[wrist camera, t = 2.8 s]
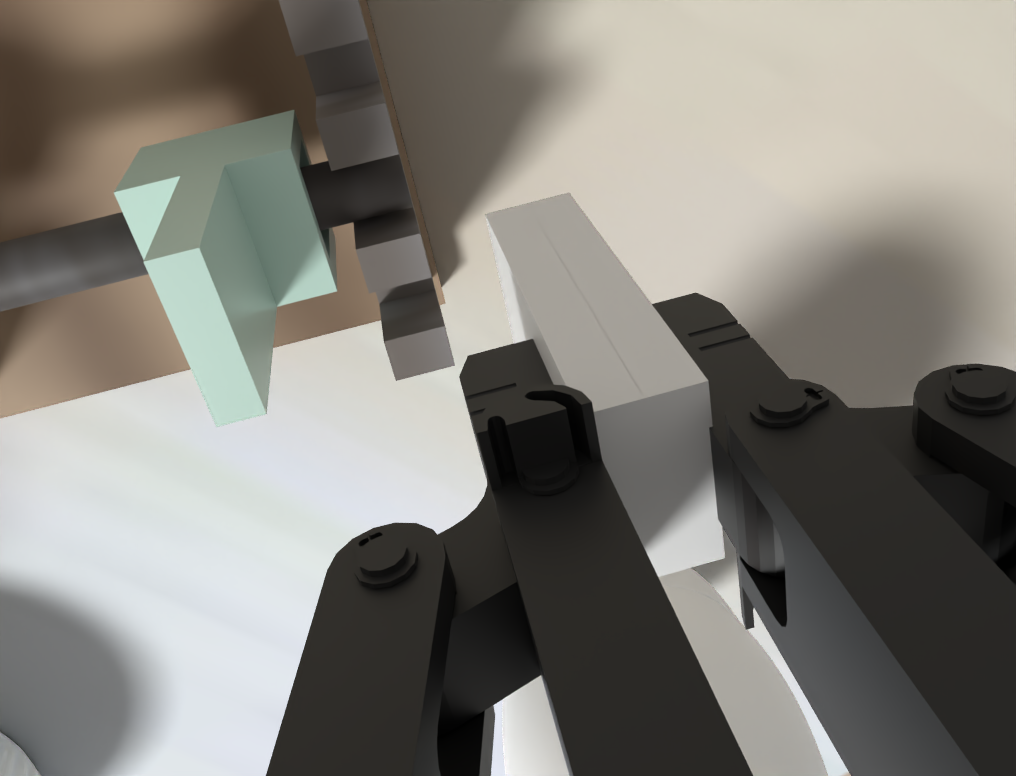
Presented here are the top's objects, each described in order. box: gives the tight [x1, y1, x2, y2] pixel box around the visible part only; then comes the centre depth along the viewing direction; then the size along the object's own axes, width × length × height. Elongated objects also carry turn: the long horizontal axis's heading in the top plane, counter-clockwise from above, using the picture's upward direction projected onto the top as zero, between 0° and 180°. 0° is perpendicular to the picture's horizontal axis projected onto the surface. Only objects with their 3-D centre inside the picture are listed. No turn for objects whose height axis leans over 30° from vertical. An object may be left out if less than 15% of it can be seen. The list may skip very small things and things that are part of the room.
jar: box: [502, 568, 828, 776], centre depth 33 cm, size 11×10×15 cm
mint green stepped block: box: [114, 110, 337, 427], centre depth 21 cm, size 4×4×9 cm
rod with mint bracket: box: [0, 0, 455, 418], centre depth 25 cm, size 20×12×8 cm, turn 102°
